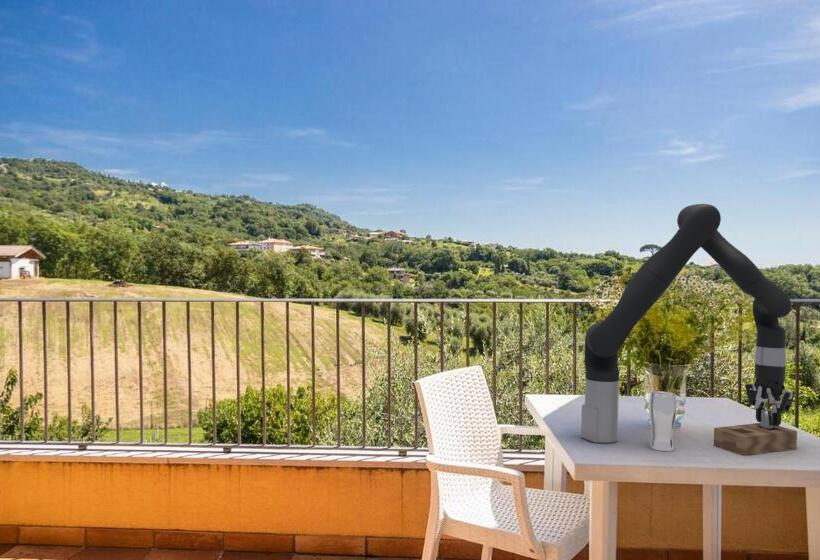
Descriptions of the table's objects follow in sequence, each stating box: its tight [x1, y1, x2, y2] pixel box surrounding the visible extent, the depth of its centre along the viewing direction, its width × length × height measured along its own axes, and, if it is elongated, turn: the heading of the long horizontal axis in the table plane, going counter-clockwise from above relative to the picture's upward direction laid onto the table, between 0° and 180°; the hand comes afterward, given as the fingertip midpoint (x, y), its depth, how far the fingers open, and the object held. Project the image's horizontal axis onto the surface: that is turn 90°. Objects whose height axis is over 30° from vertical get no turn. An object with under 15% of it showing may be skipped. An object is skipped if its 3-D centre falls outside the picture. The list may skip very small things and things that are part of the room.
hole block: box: [713, 422, 798, 457], centre depth 175 cm, size 20×10×5 cm, turn 113°
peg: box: [760, 408, 773, 430], centre depth 177 cm, size 3×3×10 cm
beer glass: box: [648, 390, 678, 452], centre depth 172 cm, size 7×7×15 cm
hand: (768, 423), depth 177 cm, fingers open, 4 cm apart
